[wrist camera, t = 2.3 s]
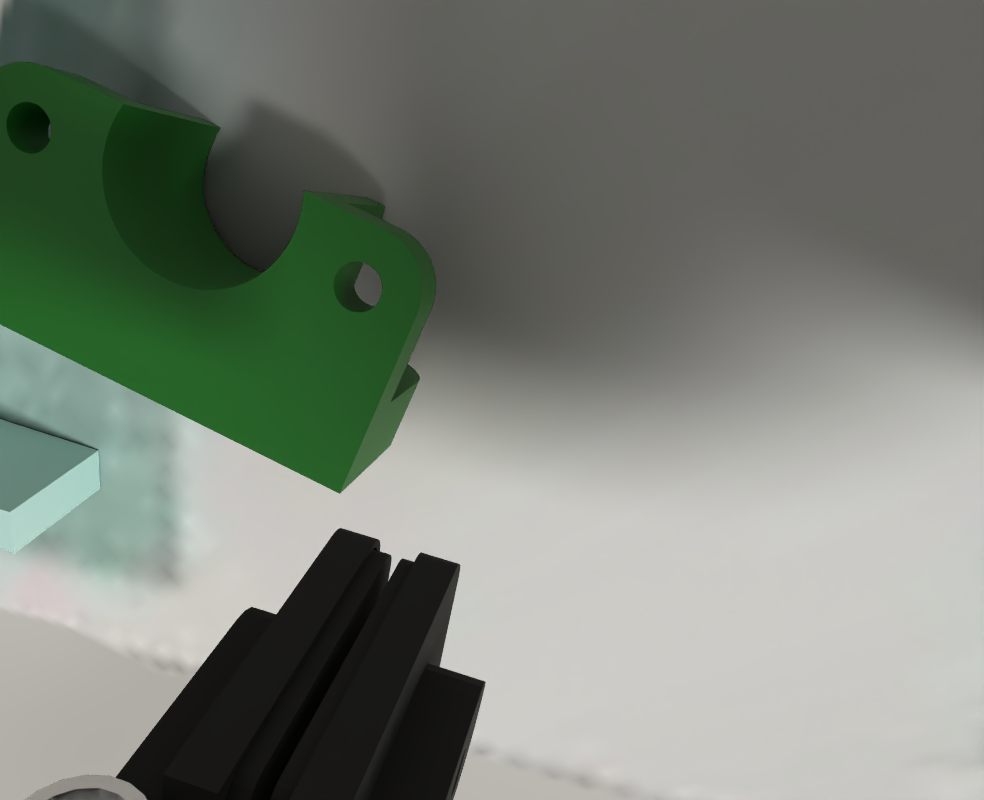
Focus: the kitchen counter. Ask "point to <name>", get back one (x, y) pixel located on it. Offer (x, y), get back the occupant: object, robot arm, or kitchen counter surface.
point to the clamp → (201, 281)
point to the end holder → (40, 482)
